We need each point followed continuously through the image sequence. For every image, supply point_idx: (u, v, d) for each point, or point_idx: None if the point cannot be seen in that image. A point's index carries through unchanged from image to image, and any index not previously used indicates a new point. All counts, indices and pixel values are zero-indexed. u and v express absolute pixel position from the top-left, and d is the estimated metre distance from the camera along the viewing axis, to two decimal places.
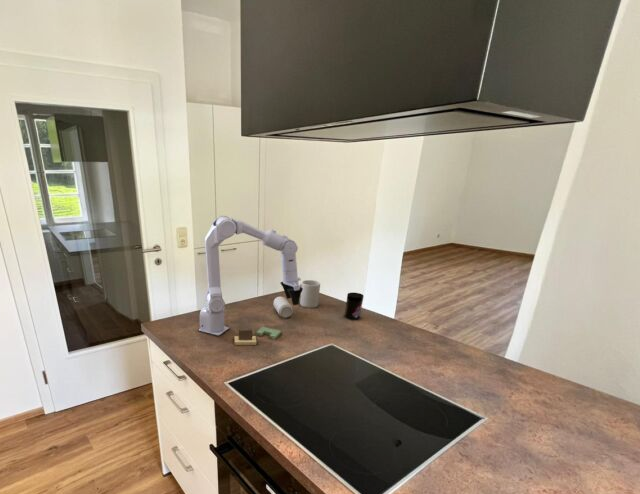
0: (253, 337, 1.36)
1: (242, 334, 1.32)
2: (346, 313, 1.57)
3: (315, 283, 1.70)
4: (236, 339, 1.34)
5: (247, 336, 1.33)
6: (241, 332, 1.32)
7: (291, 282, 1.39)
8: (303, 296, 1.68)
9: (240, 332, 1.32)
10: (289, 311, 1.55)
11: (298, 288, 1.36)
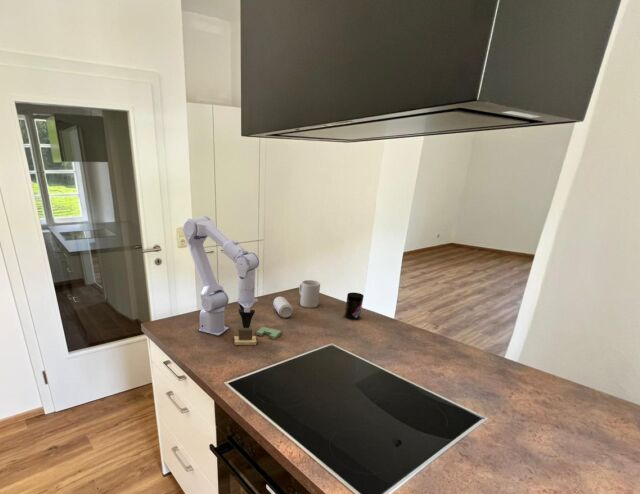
0: (253, 337, 1.36)
1: (242, 334, 1.32)
2: (346, 313, 1.57)
3: (315, 283, 1.70)
4: (236, 339, 1.34)
5: (247, 336, 1.33)
6: (241, 332, 1.32)
7: (244, 302, 1.25)
8: (303, 296, 1.68)
9: (240, 332, 1.32)
10: (289, 311, 1.55)
11: (248, 310, 1.22)
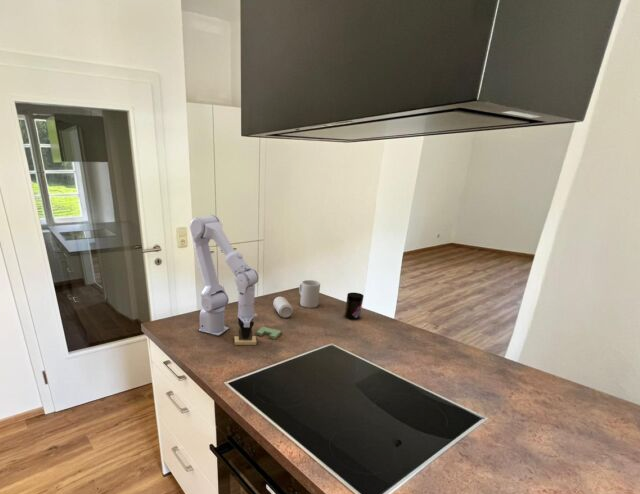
0: (253, 337, 1.36)
1: None
2: (346, 313, 1.57)
3: (315, 283, 1.70)
4: (236, 339, 1.34)
5: None
6: (241, 332, 1.32)
7: (244, 317, 1.28)
8: (303, 296, 1.68)
9: (240, 332, 1.32)
10: (289, 311, 1.55)
11: (248, 325, 1.24)
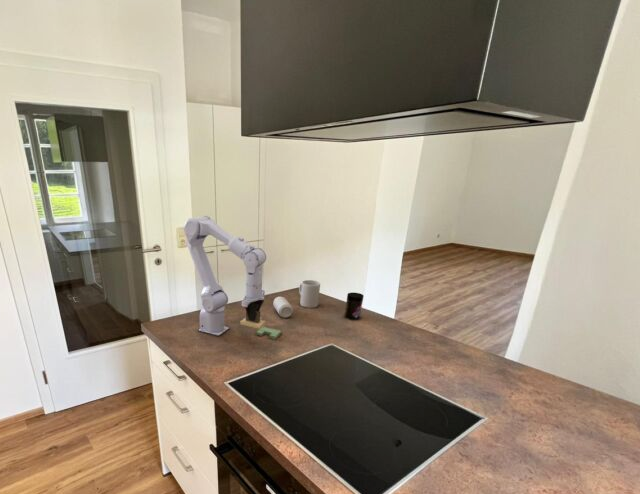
0: (262, 321, 1.32)
1: None
2: (346, 313, 1.57)
3: (315, 283, 1.70)
4: (244, 319, 1.33)
5: None
6: None
7: (248, 297, 1.26)
8: (303, 296, 1.68)
9: None
10: (289, 311, 1.55)
11: (245, 305, 1.22)
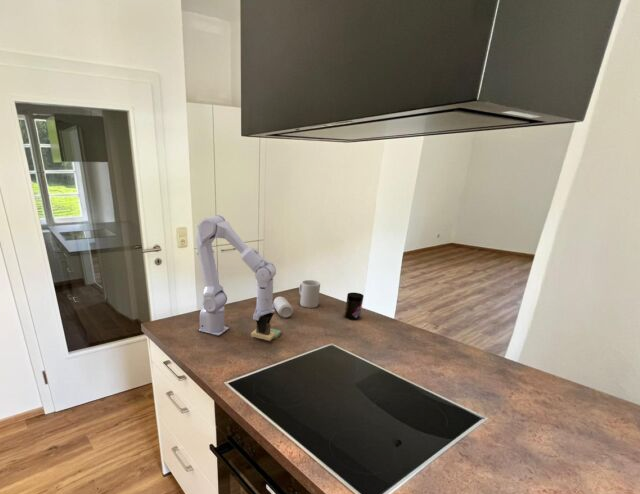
0: (272, 333, 1.35)
1: None
2: (346, 313, 1.57)
3: (315, 283, 1.70)
4: (254, 331, 1.37)
5: None
6: None
7: (259, 310, 1.29)
8: (303, 296, 1.68)
9: (257, 325, 1.34)
10: (289, 311, 1.55)
11: (256, 318, 1.26)
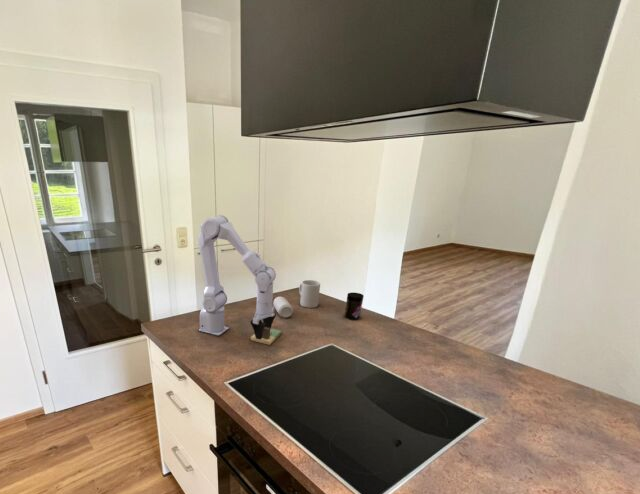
0: (271, 337, 1.36)
1: None
2: (346, 313, 1.57)
3: (315, 283, 1.70)
4: (254, 335, 1.37)
5: (263, 334, 1.34)
6: None
7: (259, 314, 1.30)
8: (303, 296, 1.68)
9: None
10: (289, 311, 1.55)
11: (256, 322, 1.26)
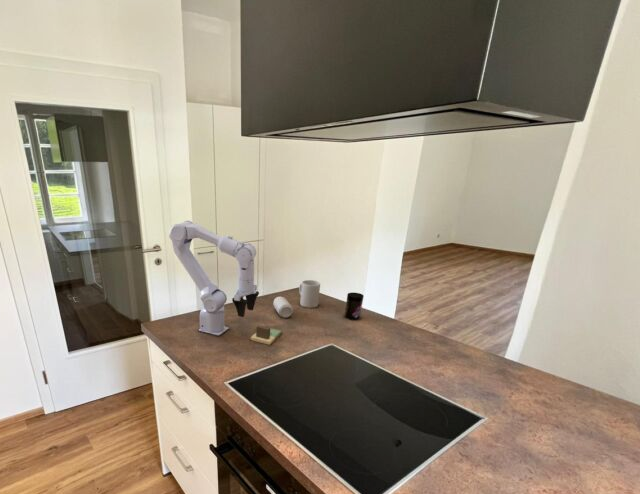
0: (271, 337, 1.36)
1: (259, 331, 1.35)
2: (346, 313, 1.57)
3: (315, 283, 1.70)
4: (254, 335, 1.37)
5: (263, 334, 1.34)
6: (258, 329, 1.35)
7: (240, 291, 1.30)
8: (303, 296, 1.68)
9: (257, 329, 1.35)
10: (289, 311, 1.55)
11: (237, 299, 1.27)
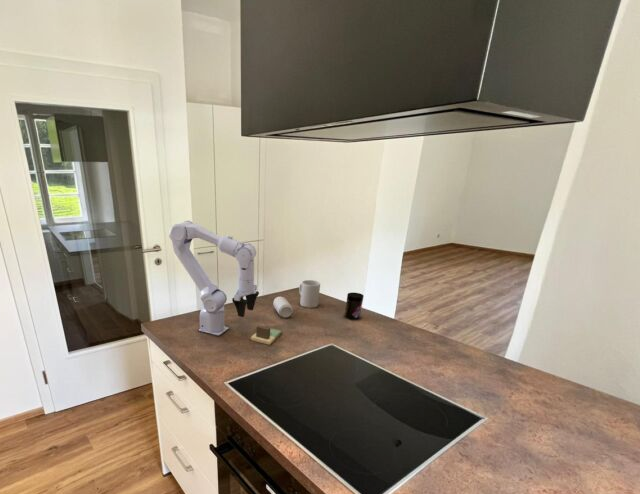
0: (271, 337, 1.36)
1: (259, 331, 1.35)
2: (346, 313, 1.57)
3: (315, 283, 1.70)
4: (254, 335, 1.37)
5: (263, 334, 1.34)
6: (258, 329, 1.35)
7: (240, 291, 1.30)
8: (303, 296, 1.68)
9: (257, 329, 1.35)
10: (289, 311, 1.55)
11: (237, 299, 1.27)
